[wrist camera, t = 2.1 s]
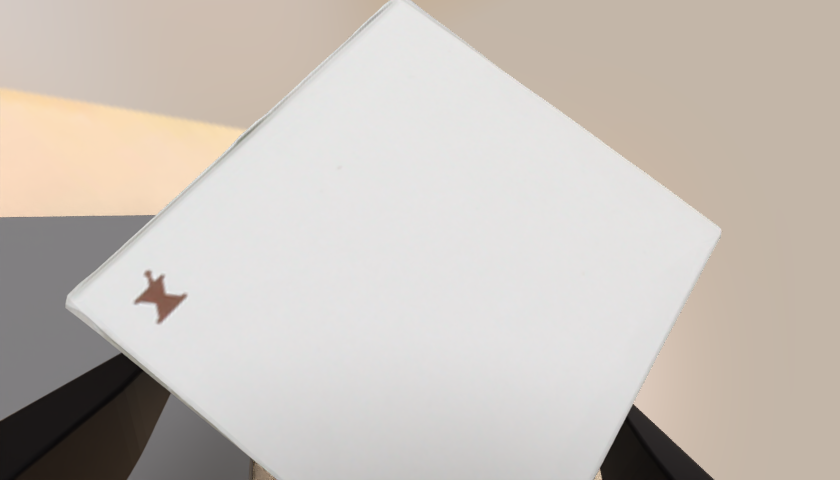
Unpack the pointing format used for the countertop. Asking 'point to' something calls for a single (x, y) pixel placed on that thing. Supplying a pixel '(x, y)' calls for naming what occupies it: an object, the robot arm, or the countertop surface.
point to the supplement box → (407, 274)
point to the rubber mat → (86, 339)
